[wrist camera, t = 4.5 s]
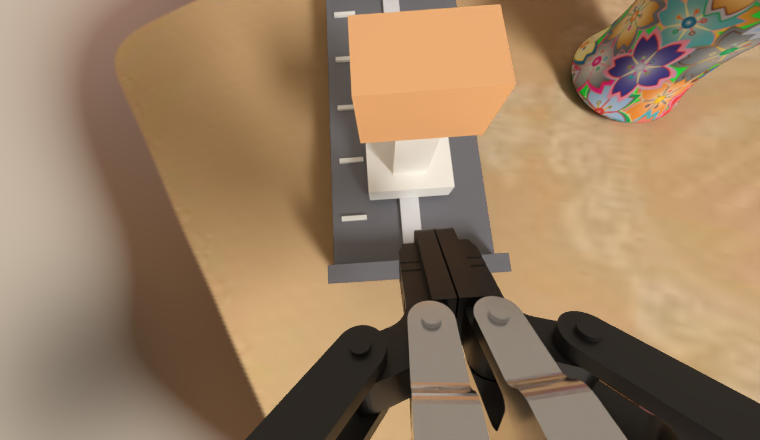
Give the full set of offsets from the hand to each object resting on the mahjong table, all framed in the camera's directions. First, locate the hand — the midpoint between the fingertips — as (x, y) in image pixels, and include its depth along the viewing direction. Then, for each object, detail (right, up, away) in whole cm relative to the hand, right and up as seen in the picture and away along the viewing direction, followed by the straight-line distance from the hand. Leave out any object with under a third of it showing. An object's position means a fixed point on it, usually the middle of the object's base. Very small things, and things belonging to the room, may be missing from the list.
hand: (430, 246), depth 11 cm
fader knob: (0, +4, +7) cm, 8 cm away
